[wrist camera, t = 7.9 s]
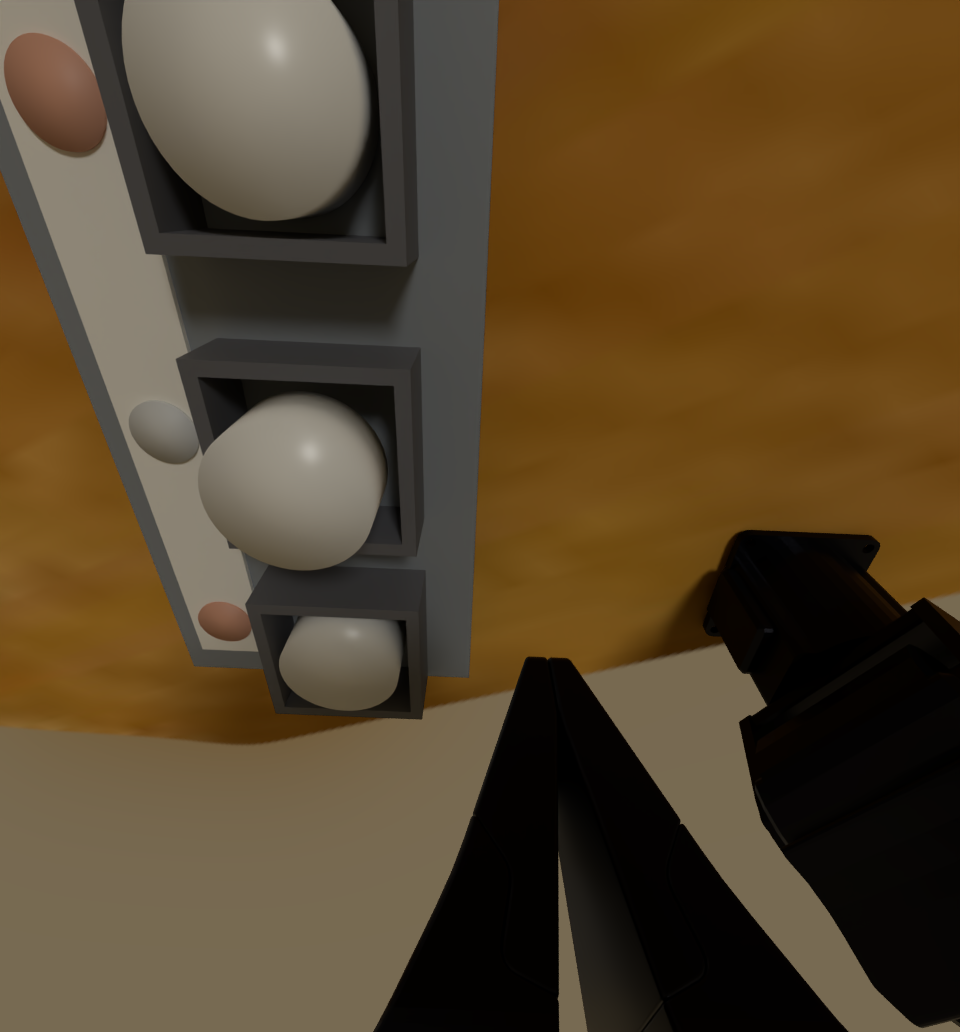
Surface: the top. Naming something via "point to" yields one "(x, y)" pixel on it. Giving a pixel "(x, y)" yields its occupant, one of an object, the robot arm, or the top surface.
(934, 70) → the top surface
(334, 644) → the button end
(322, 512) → the button mid
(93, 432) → the top surface
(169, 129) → the button
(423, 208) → the button board
